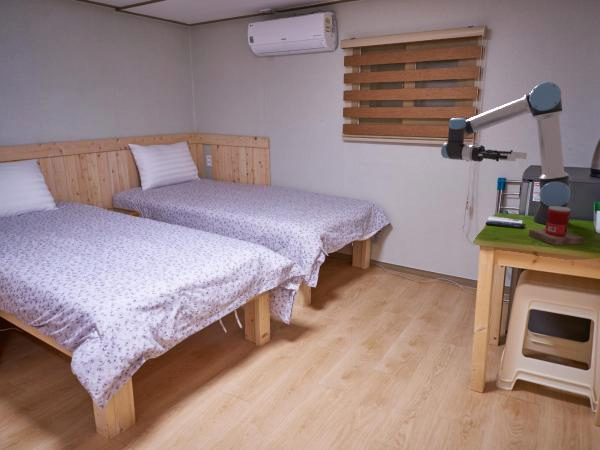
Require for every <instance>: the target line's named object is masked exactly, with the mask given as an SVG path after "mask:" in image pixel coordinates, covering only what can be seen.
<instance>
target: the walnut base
mask: <svg viewBox="0 0 600 450" xmlns="http://www.w3.org/2000/svg"><path fill="white" fill-rule="evenodd" d="M528 236H529V237H531V238H533V239H536V240H538V241H541V242H543V243H545V244H548V245H550V246H564V245H565V246H566V244H569V245H582V244H583V242H584V237H582V236H579V235H577V234H574V233H570V232H568V231H567V234H566V235H565V236H553V235H549V234H547V233H545V229H529V231H528Z"/></svg>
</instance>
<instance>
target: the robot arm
mask: <svg viewBox="0 0 600 450" xmlns="http://www.w3.org/2000/svg"><path fill="white" fill-rule="evenodd" d="M562 103H563V102H562V91H561V88H560V86H559V84H558V85H557V84H556V83H554V82H551V81H544V82H542V83H538V84H537V85H535V87H534V88H532V90H531V91H530V92H528V93H525V94H524V95H523V97H521V98H518V99H516V100H514V101H511V102H508V103H505V104H503V105H501V106H499V107H495V108H493V109H490V110H488V111H485V112H483V113H480V114H478V115H476V116H473V117H470V118H467V119H466V118H458V117H456V118H454V117H452V118H450V119H449V124H448V131H447V132H448V133H447V142H444V143H443V144H442V145H441V149H440V154H441V156H442V158H443V159H450V160H456V161H457V160H458V161H459V160H460V161H466V162H467V163H468V162H469V161H470V162H472V161H473V162H480V163H481V162H482V161H483V160H484V159H486V160H493V161H495V162H500V161H509V162H516V159H521V160H526V159H527V155H528V153H527V152H523V151H522V152H519V151H513V150H512V149H510V151H507V150H497V149H495V150H494V149H493V150H492V149H486V147H485V146H484V145H479V144H478V145H477V144H468V143H467V144H466V143H465V137H468V136H470V135H472V134H475V133H478V132H480V131H483V130H486V129H488V128H491V127H494V126H497V125H499V124H502V123H504V122H507V121H510V120H513V119H515V118H518V117H521V116H524V115H526V114H531V115H532V116H531V117H532V118H533V119H535V121H536V126H537V136H538V137H537V138H538V144H539V145H538V146H539V154H540V155H539V156H540V157H539V158H540V165H541V175H540V176H539V177H538V184H539V199H540V201H539V205H538V207H537V209H536V210H535V214H533V219H532V221H534V222H535V223H538V224H542V225H546V221H547V214H548V208H549V207H550V206H560V207H566V208H568V203H569V200H570V198H571V195H572V194H571V193H572V192H571V187H572V183H573V180H572V179H573V177H572V176H571V175H569V173H568V172H566V171H565V169H564V168H565V166H564V154H563V147H562V145H563V144H562V135H561V123H560V116H561V114H562V113H563V111H564V110H563V104H562ZM569 224H570V222H569V223H568V225H569Z"/></svg>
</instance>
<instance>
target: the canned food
mask: <svg viewBox="0 0 600 450" xmlns="http://www.w3.org/2000/svg"><path fill="white" fill-rule="evenodd" d="M571 211H572V210H571V208H569V207H567V208H566V207H560V206H550V207H549V208H548V214H547V221H546V224H545V227H544V228H545V233H547V234H549V235H553V236H565V235H566V234H567V232H568V227H569V224H570V217H571ZM568 223H569V224H568Z"/></svg>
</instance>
